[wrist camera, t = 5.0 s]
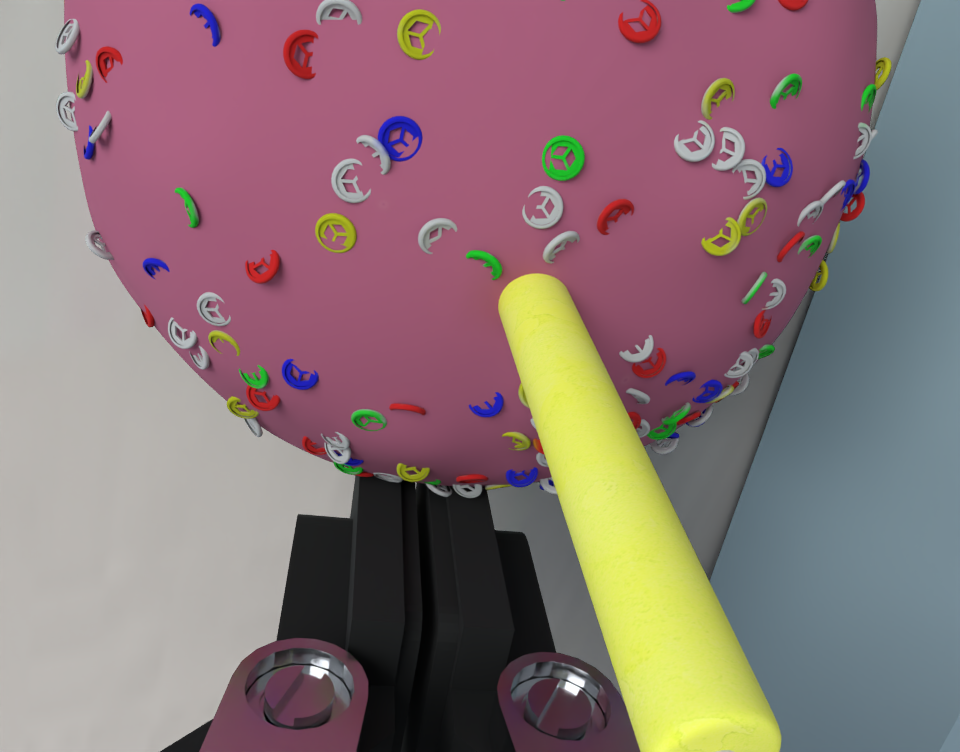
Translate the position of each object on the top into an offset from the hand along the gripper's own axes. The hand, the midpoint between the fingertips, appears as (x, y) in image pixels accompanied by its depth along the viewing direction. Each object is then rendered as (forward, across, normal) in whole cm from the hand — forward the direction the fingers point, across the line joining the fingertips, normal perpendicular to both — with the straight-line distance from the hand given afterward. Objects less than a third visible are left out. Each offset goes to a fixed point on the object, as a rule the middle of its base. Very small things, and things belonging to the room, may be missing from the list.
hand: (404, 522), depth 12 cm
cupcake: (+4, 0, -6) cm, 7 cm away
